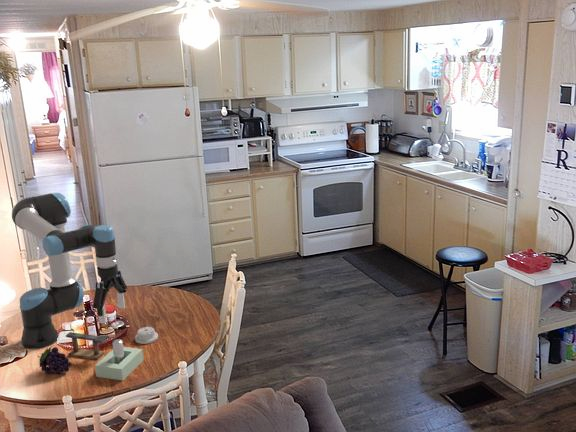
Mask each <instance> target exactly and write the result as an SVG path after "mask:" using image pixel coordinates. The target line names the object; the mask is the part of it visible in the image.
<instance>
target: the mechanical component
mask: <svg viewBox="0 0 576 432" xmlns="http://www.w3.org/2000/svg"><path fill="white" fill-rule="evenodd" d="M134 338H135V339H134V340H135V342H136V343H137V344H142V345H145V344H146V345H147V344H151V343H154V342H156V341H157V340H158V339H159V334H158V333H157V332H156V331H155V328H154V327H152V326H146V327H141V328H139V329H138V330H137V334H136V335H135V337H134Z"/></svg>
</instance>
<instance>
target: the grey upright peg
mask: <svg viewBox="0 0 576 432" xmlns="http://www.w3.org/2000/svg"><path fill="white" fill-rule="evenodd" d="M111 343H112V350H113V353H114V362H115V364H119V363H120V362H121V361H123V360H124V359H125V358H124V349H123V347H124V340H123V339H121V338H119V339H113V341H112V342H111Z"/></svg>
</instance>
